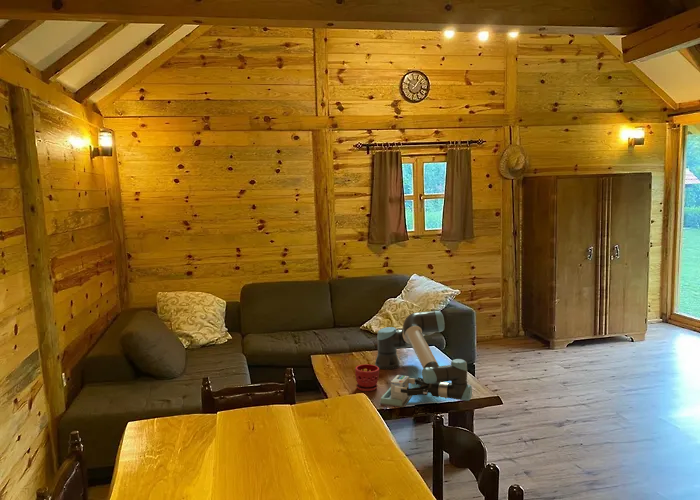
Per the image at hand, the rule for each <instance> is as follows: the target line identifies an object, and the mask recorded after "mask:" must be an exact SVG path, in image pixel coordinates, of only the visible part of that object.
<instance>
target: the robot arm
mask: <svg viewBox="0 0 700 500" xmlns="http://www.w3.org/2000/svg"><path fill="white" fill-rule="evenodd" d="M445 324H446V323H445V317H444V315H443V313H442V311H440V310H430V311H428V310H426V311H419V312H417V311H416V312H412V313H409V314H408V315H407V316H406V318H405V319H404V321H403V323H402V328H399V329H397V328H396V327H393V326H391V327H390V326H388V327H383V328H380V329H379V330H378V331H377V337H376V338H377V339H376V340H377V356H376V359H375V362H374V363H375V364H374V365H375V366H377V367H379V370H394V369H398V368H399V367H400V359H399V356H398V353H397V349H405V348H412V350H414V353H415V355H416V357H417V359H418V360H419V362H420V365H421V366H422V369H421V376H422V377H421V376H418V377H417V378H414V377H413V378H412V377H409V385H410V384H411V385H418V387H409V388H408V387H407V388H405V387H397V386H395V392H399V393H407V396H412V397H414V396H428V393H429V394H431V396H432V397H433V398H434V397H435V398H443V399H445V400H447V399H452V400H458V401H470V400H471V399H472V396H473V386H472V385H471V384H468V364H467V361H466V360H464V359H462V358H455V359H452V360H451V362H450V364H447V365H440V364H439V363H438V362H437V360H436V357H435V355H434V353H433V352H432V350H431V349H430V346H429V344H428V343H427V341H426V339H425V337H424V336H431V335H433V334H434V333H441V332H443V331H445V327H446V326H445Z"/></svg>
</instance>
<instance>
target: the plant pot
mask: <svg viewBox="0 0 700 500" xmlns="http://www.w3.org/2000/svg"><path fill="white" fill-rule="evenodd" d="M365 369H366V371H364V370H365ZM354 371H355V372H354V373H355V374H354V375H355V380H356V388H357V389H358V390H359V391H362V392H372V391H375V390H377V388H378V381H379V378H380V377H379V375H380V368H379V367H377V366H375V364H370V363H369V364H367V363H364V364H359V365H357V366H355V370H354Z"/></svg>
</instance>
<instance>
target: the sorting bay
mask: <svg viewBox="0 0 700 500" xmlns="http://www.w3.org/2000/svg"><path fill="white" fill-rule="evenodd" d="M412 397H413V396H408V398H407V399H406V400H405V401H404V402H403V403H402V400H398V399H391V386H390V387H389V388H388V389H387V391H386V392H385V393H384V394H383V395H381V397H380V405H383V406H384V405H385V406H393V407H399V408H400V407H401V408H404V407H405V406H406V405H407V404H408V402H409V401H410V399H411V398H412Z"/></svg>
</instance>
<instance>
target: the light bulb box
mask: <svg viewBox="0 0 700 500" xmlns="http://www.w3.org/2000/svg"><path fill="white" fill-rule="evenodd" d="M409 378H410V376H408V375H401V374H396V375H395V377H394V378H393V379H392V380H391V381H390V387H391V399H398V400H402V403H403V402H404V401H405V400H406V399H407V398H408V396H407V393H399V392H395V386H397V387H405V388H407V387H408V388H410V384H409Z"/></svg>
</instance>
